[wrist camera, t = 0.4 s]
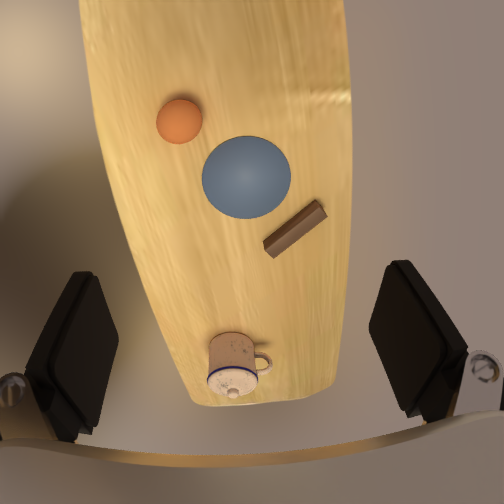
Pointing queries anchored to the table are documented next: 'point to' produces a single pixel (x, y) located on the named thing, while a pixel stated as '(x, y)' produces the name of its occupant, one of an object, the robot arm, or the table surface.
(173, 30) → the table surface
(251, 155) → the disc
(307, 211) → the stopper strip
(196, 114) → the ball
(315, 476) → the robot arm
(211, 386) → the teacup with lid
